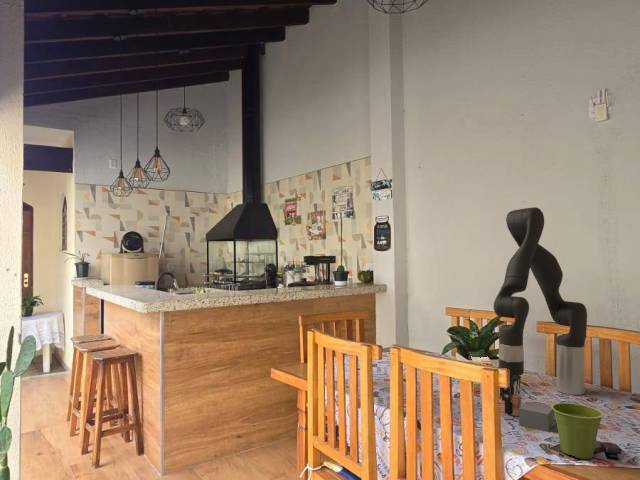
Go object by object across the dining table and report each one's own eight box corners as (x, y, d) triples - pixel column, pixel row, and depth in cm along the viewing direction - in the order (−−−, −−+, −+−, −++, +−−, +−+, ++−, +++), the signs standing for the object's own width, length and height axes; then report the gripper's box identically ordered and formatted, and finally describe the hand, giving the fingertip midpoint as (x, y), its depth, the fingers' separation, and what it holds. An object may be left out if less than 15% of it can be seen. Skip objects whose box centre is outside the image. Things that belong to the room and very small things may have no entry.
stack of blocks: (466, 380, 187) (466, 349, 187) (483, 381, 185) (483, 350, 186) (473, 396, 166) (474, 362, 166) (492, 397, 164) (492, 363, 165)
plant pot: (615, 460, 116) (614, 414, 116) (579, 467, 112) (579, 420, 112) (574, 441, 127) (574, 400, 127) (540, 447, 123) (540, 404, 123)
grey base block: (525, 417, 145) (525, 401, 145) (554, 423, 140) (554, 406, 140) (519, 425, 138) (519, 408, 139) (548, 431, 134) (548, 414, 134)
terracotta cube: (505, 408, 153) (505, 393, 153) (521, 411, 150) (521, 396, 150) (500, 412, 149) (500, 397, 149) (517, 416, 146) (517, 400, 146)
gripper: (505, 352, 158) (505, 402, 157) (492, 360, 146) (492, 414, 146) (529, 355, 153) (529, 407, 153) (517, 364, 142) (517, 420, 141)
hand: (511, 410), depth 149 cm, fingers closed on terracotta cube, 5 cm apart
